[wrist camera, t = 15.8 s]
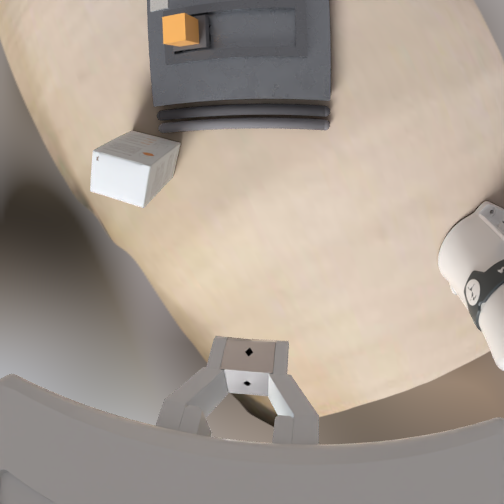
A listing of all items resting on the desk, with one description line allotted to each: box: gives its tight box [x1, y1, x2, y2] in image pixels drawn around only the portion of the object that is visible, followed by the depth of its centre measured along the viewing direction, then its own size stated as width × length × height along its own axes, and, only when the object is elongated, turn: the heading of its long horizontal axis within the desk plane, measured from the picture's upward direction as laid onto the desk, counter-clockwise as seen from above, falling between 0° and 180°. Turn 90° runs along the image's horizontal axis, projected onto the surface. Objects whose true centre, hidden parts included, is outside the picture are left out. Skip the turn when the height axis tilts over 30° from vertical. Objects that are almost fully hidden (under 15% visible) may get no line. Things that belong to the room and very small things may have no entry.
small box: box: [90, 131, 181, 208], centre depth 35 cm, size 8×6×10 cm
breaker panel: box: [147, 0, 331, 107], centre depth 28 cm, size 22×18×4 cm
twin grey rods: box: [157, 104, 330, 133], centre depth 35 cm, size 22×3×1 cm, turn 93°
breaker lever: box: [162, 13, 210, 52], centre depth 25 cm, size 4×4×6 cm
